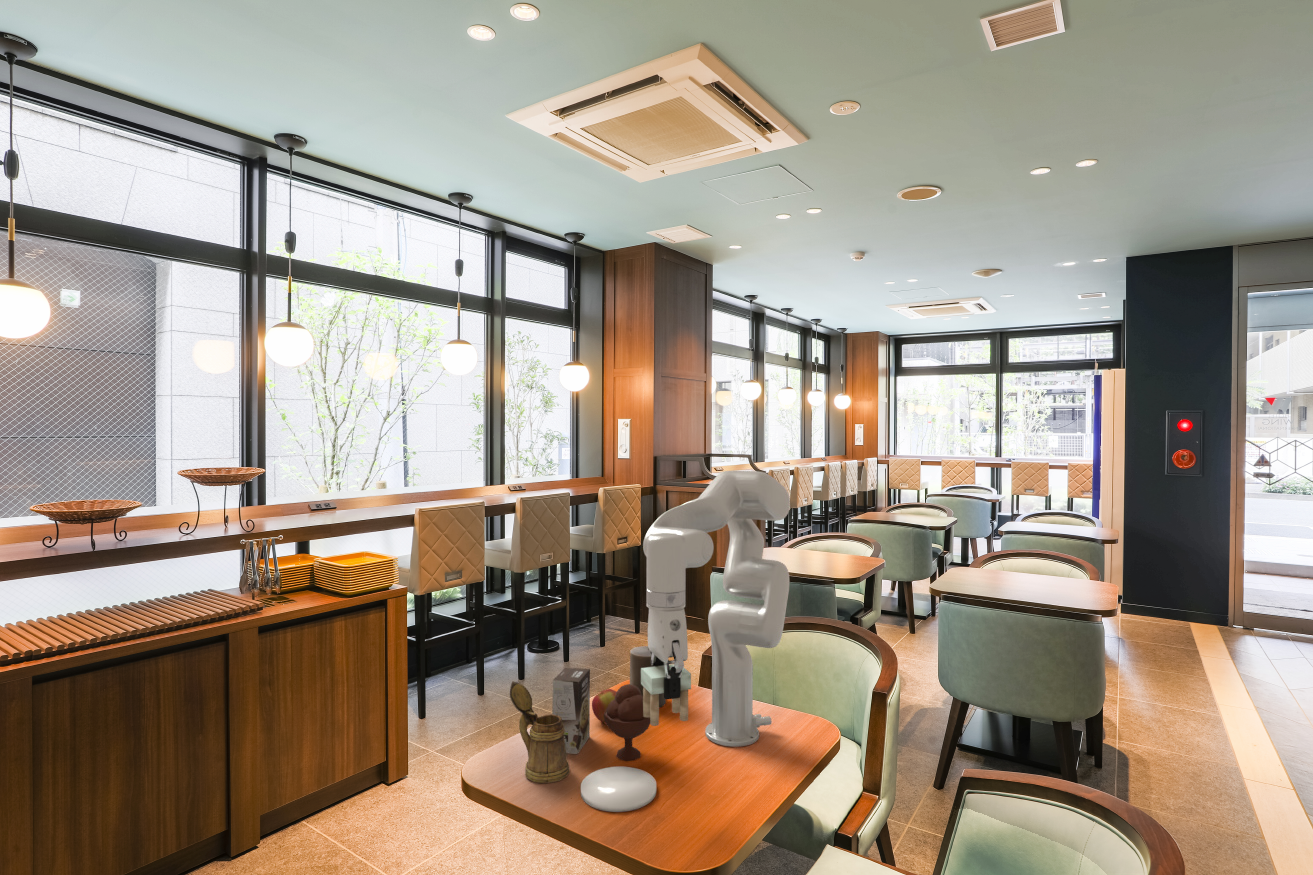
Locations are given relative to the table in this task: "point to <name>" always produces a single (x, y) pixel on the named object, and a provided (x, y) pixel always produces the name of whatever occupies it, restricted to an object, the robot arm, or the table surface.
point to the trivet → (618, 789)
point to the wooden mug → (540, 739)
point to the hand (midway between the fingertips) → (665, 690)
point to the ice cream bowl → (627, 719)
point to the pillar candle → (638, 660)
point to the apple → (602, 703)
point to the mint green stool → (655, 685)
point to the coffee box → (573, 706)
